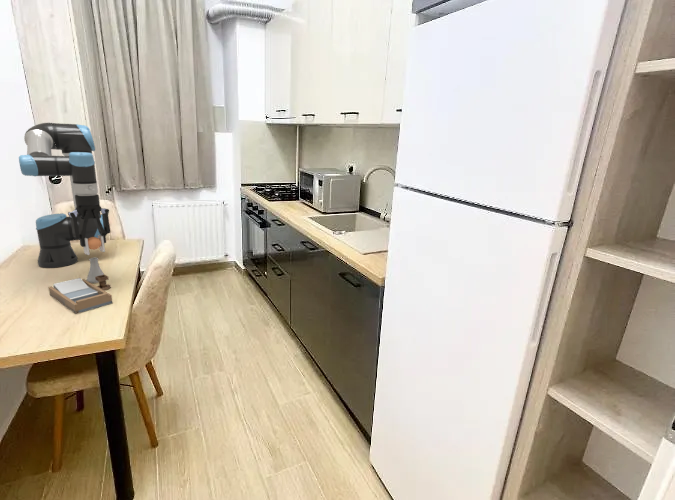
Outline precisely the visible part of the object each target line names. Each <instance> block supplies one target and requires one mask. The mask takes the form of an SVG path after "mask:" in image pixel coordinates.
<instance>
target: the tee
mask: <svg viewBox="0 0 675 500" xmlns="http://www.w3.org/2000/svg"><path fill="white" fill-rule="evenodd" d="M95 278H96V280H97V281H99V282H98V284H99V285H96V286H97V287H99V288H100V289H102V290H104V291H107V290H109V289H111V284H109V283H108V284H107V281H108V280H109V276H108V275H107V274H104V275H100V276H96V277H95Z"/></svg>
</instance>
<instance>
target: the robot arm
mask: <svg viewBox="0 0 675 500" xmlns="http://www.w3.org/2000/svg"><path fill="white" fill-rule="evenodd" d="M23 138H24V139H23V140H24V143H25V144H26V154H20V155H19V156H18V162H19V168H20V172H21V174H22V175H23V176H27V177H69V180H70V187H71V193H72V201H73V207H74V209H73V210H72V211H68V212H67V214H68V216H67V214H66V213H52V214H47V215H43V216H40V217H38V218H37V219H36V220H35V227H36V228H35V230H36V232H37V238H38V244H39V252H38V253H39V254H38V259H37V264H38V265H37V266H39V267H41V268H43V269H44V268H45V269H48V268H53V269H55V268H62V267H67V266H71V265H74V264H76V263H77V262H78V255H77V254H76V252H75V250H74V249H73V247H72V245H71V241H72V242H73V241H79V244H80V247H82V248H83V253H84V254H85V255H87V256H90V255H91V254H90V249H89V246H88V239H89V238H90V237H96V238H98V239H100V241H101V246H100V247H99V252H102V253H105V252H106V248H105V244H106V243H107V238H106V236H107V235H108V234H110V233H111V227H110V219H109V213H110V210H109V208H105V207H104V208H102V206H101V202H100V196H99V194H98V193H99V188H98V181H97V175H96V165H95V162H96V161H95V160H94V155H93V152H95V151H96V147H95V142H94V139H93V135H92V133H91V130H90V128H89V126H87V125H84V124H78V123H77V124H75V123H60V122H59V123H58V122H57V123H56V122H55V123H54V122H42V123H37V124H35V125H33V126H31V127H29V128H28V129H26V131H25V133H24V137H23ZM52 150H58V151H59V150H60V151H61V154H62V155H52V154H53V153H52Z"/></svg>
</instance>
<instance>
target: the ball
mask: <svg viewBox="0 0 675 500" xmlns="http://www.w3.org/2000/svg"><path fill="white" fill-rule="evenodd" d="M88 246H89V250H92V251H93V250H97V249H100V246H101V241H100V239H98V238H96V237H90V238H89V239H88Z"/></svg>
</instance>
